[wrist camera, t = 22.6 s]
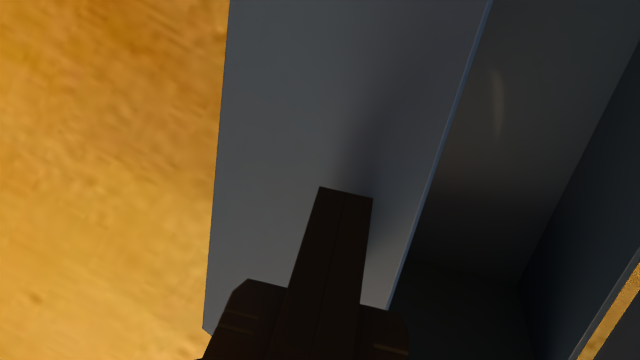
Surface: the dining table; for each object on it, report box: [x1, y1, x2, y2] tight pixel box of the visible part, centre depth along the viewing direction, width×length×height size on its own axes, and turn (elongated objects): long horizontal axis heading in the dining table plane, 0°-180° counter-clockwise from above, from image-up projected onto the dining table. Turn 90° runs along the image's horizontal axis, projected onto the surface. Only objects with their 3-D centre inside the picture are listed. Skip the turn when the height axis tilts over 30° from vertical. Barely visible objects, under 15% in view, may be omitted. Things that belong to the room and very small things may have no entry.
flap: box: [202, 0, 493, 336], centre depth 16 cm, size 18×7×1 cm, turn 170°
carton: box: [388, 0, 640, 360], centre depth 18 cm, size 18×16×15 cm
